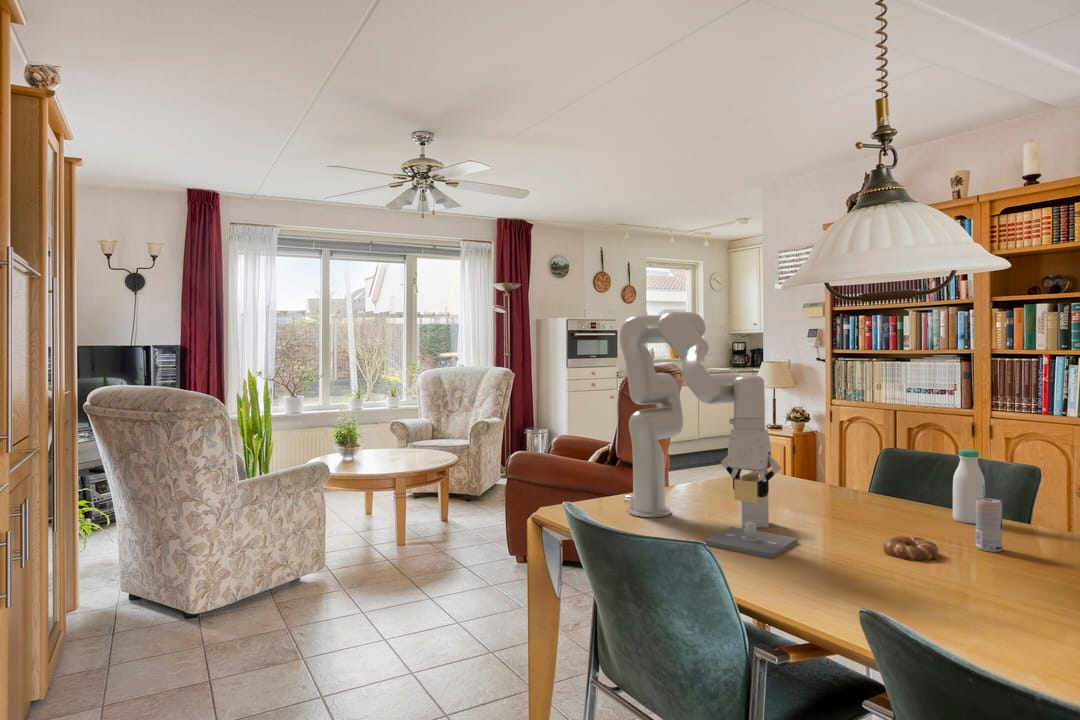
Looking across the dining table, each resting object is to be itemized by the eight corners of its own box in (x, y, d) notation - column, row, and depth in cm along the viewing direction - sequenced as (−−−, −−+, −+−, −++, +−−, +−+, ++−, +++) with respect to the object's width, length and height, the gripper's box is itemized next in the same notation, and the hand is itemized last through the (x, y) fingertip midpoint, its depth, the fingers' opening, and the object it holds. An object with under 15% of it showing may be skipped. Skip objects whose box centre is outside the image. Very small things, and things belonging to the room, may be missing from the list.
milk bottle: (979, 526, 182) (979, 453, 182) (948, 520, 188) (948, 450, 188) (989, 521, 187) (989, 450, 186) (958, 515, 193) (958, 447, 192)
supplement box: (769, 528, 184) (768, 482, 184) (741, 527, 186) (740, 482, 185) (765, 521, 191) (765, 477, 191) (738, 520, 193) (738, 476, 193)
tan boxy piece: (756, 503, 165) (756, 477, 165) (733, 500, 169) (733, 474, 169) (767, 498, 171) (767, 473, 170) (745, 494, 175) (745, 470, 174)
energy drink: (1001, 547, 164) (1001, 499, 163) (1003, 553, 159) (1003, 503, 159) (975, 544, 166) (975, 496, 166) (976, 550, 162) (976, 501, 161)
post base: (703, 544, 170) (703, 524, 170) (731, 530, 182) (731, 511, 182) (772, 558, 158) (772, 537, 158) (797, 542, 170) (797, 522, 170)
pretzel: (891, 561, 156) (890, 546, 156) (876, 547, 167) (876, 532, 167) (947, 563, 154) (947, 547, 154) (929, 548, 164) (929, 534, 164)
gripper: (711, 423, 172) (712, 493, 173) (777, 428, 161) (778, 502, 161) (724, 421, 178) (725, 488, 178) (788, 424, 167) (790, 496, 167)
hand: (750, 494), depth 170 cm, fingers closed on tan boxy piece, 6 cm apart
